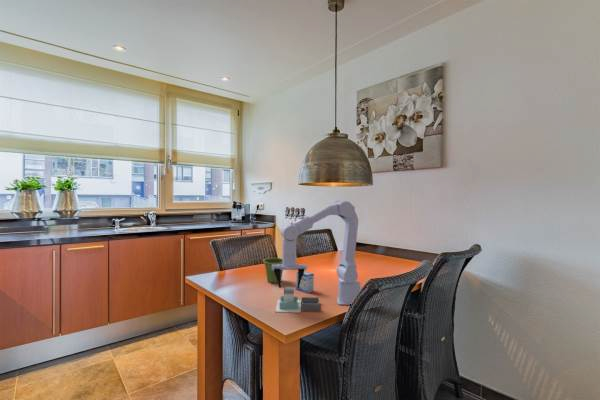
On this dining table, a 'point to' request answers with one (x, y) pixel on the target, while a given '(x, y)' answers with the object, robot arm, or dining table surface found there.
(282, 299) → the port
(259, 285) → the dining table surface
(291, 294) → the plug
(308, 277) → the medicine box
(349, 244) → the robot arm
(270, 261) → the plant pot
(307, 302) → the grey arch stand
